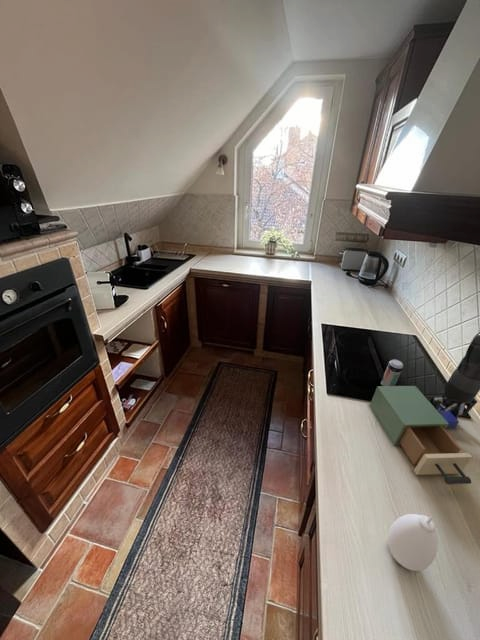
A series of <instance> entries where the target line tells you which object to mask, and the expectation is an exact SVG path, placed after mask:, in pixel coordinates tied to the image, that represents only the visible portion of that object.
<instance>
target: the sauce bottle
mask: <svg viewBox="0 0 480 640" xmlns="http://www.w3.org/2000/svg"><path fill="white" fill-rule="evenodd" d="M433 518H434V515H431V516H427V515H424V514H418V513H417V514H416V513H409V514H403V515H401V516H400V517H398V518H397V519H395V520H394V522H393V523H392V524H391V526H390V528H389V530H388V534H387V545H388V549H389V552H390V554H391V556H392V557H393V558H394V560H395V561H396V562H397V563H398V564H399V565H400V566H402V567H404V568H405V569H407V570H409V571H414V572H420V571H424V570H426V569H427V568H429V567H430V566H431V565H432V563H433V562H434V561H435V559H436V556H437V553H438V547H439V540H438V534H437V530H436V525H435V523H434V521H433Z"/></svg>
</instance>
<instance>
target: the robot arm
mask: <svg viewBox="0 0 480 640" xmlns="http://www.w3.org/2000/svg"><path fill="white" fill-rule="evenodd" d="M443 388H444V389H443V391H444V393H443V394H442V395H441V396H439V397H437V396H436V395H432V397H431V399H430V400H429V402H430V403H431V404H432V405H433V406H434V408H435V409H436V410H437V411H438V412H439V413H440V414H442V413H443V412H444V411H445V412H447V411H448V410H449V411H450V410H451V411H450V412H451V413H452V414H453V415H454V417H455V418H456V419H457V420H458V417H459V416H461V415H463V413H464V414H469V412H470V411H471V410H472V409H473V408H474V406H475V405H476V404H477V403H478V401H477V399H476V397H477V395H478V394H479V392H480V330H479V331H478V332H477V333H476V334H475V335H474V337H473V338H472V339H471V341H470V343H469V344H468V347H467V349H466V352H465V355H464V356H463V357H462V358H461V360H460V362H459V363H458V365H457V367H456V368H455V369H454V371H453V372H452V374H451V375H450V376H449V379H448V380H447V382H446V383H445V386H444V387H443ZM444 406H445V407H446V408H445V407H444ZM439 407H440V408H441V410H438V408H439Z"/></svg>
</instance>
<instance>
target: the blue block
mask: <svg viewBox="0 0 480 640" xmlns="http://www.w3.org/2000/svg"><path fill="white" fill-rule="evenodd" d="M443 406H444V407H445V408H446V406H445V405H443ZM438 410H441V408H440V407H439V408H438ZM441 415H442V417H443V418H444V419H445V420H446V421H447V422H448V423H449V425H448V426H447V428H446V429H455V428H457V425H458V424H459V422H460V421H459V419H458V418H457V419H456V418H455V417H454V415H453V414H452V413H451V411H450V410H448V411H447V412H445V411H444V412H443V413H442V414H441Z"/></svg>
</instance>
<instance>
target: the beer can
mask: <svg viewBox="0 0 480 640" xmlns="http://www.w3.org/2000/svg"><path fill="white" fill-rule="evenodd" d="M403 368H404V364H403V362H402V361H401V360H399V359H396V358H393V359H391V360H390V361H389V362H388V364H387V367H386V369H385V371H384V374H383V377H382V379H381V381H380V384H381V386H396V384H397V382H398V380H399V378H400V375H401V373H402V370H403Z"/></svg>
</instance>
